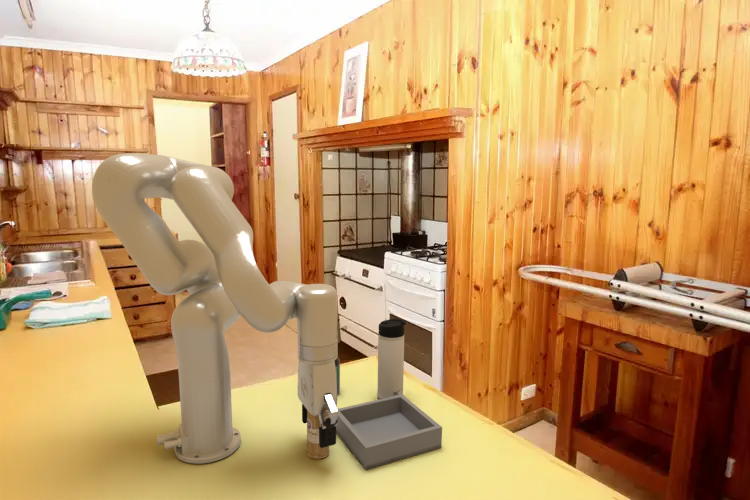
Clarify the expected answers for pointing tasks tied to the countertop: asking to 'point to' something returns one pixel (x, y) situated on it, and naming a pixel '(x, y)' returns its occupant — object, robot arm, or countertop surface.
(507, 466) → the countertop surface
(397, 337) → the travel mug
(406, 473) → the countertop surface
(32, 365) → the countertop surface
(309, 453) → the sprinkles bottle
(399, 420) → the tray
